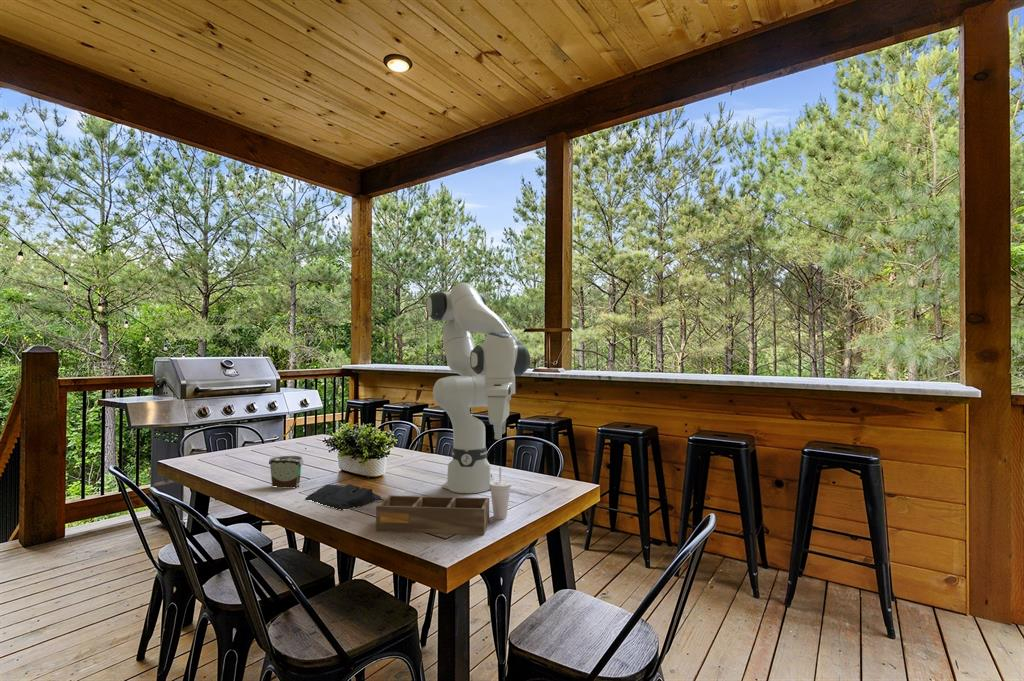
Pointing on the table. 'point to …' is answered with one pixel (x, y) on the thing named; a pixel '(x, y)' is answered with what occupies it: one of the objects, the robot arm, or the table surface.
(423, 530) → the caddy
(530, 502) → the table surface
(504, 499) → the smoothie
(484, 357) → the robot arm
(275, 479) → the food container
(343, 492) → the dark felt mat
